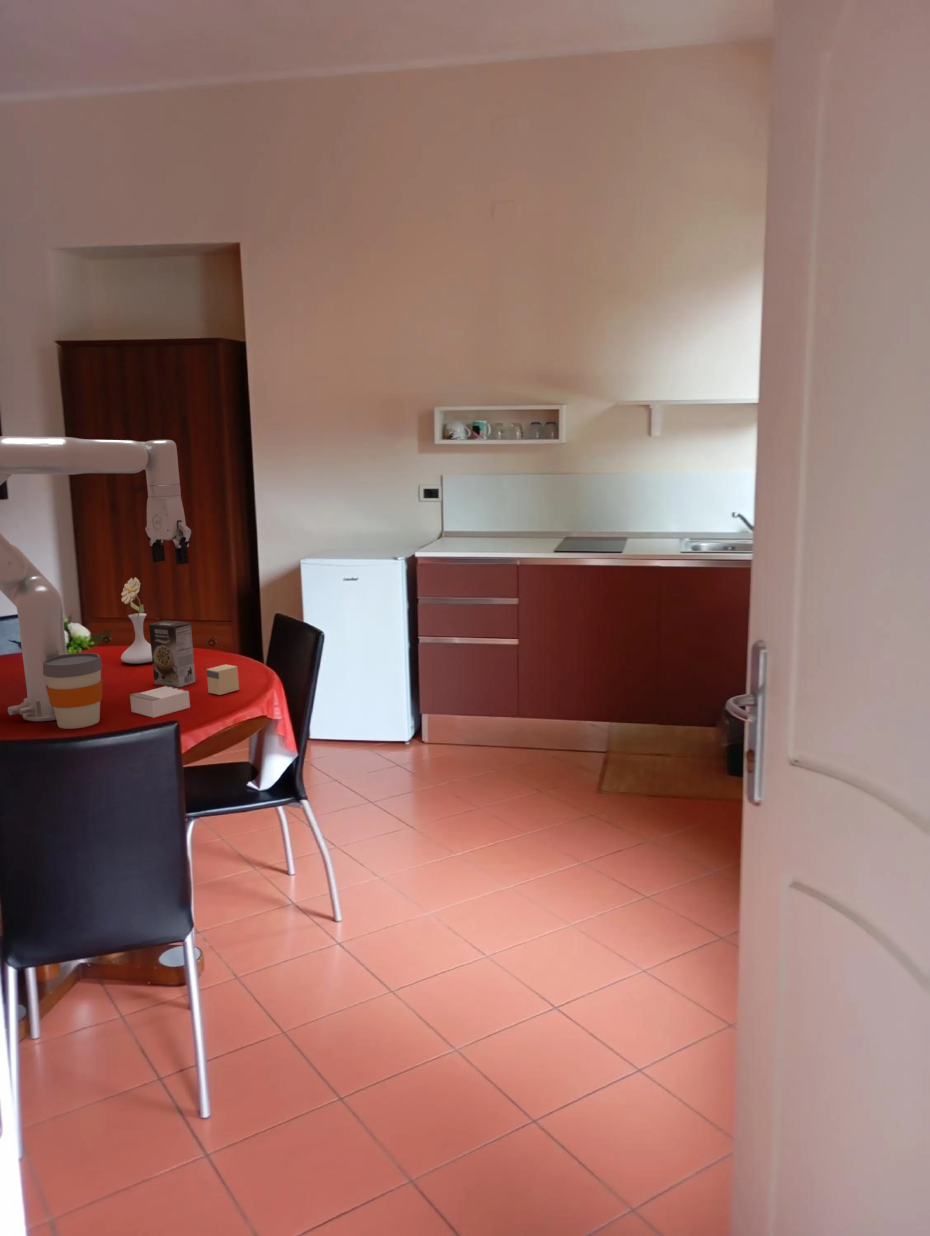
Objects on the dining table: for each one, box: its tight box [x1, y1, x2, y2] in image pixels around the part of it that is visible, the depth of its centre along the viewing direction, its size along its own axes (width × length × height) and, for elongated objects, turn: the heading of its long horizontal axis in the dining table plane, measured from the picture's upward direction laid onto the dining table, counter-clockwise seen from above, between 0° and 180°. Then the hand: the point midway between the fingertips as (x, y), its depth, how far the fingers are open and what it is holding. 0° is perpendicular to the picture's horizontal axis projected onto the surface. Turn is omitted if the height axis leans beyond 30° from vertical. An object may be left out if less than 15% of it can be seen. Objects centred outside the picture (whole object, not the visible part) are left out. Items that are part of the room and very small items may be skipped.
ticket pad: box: [129, 685, 191, 719], centre depth 234 cm, size 10×9×4 cm
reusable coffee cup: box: [43, 652, 103, 730], centre depth 225 cm, size 13×13×15 cm
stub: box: [206, 663, 240, 696], centre depth 248 cm, size 6×4×6 cm
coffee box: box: [148, 620, 196, 688], centre depth 258 cm, size 9×6×16 cm
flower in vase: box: [120, 577, 152, 665], centre depth 282 cm, size 13×11×25 cm
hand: (170, 562), depth 241 cm, fingers open, 9 cm apart
